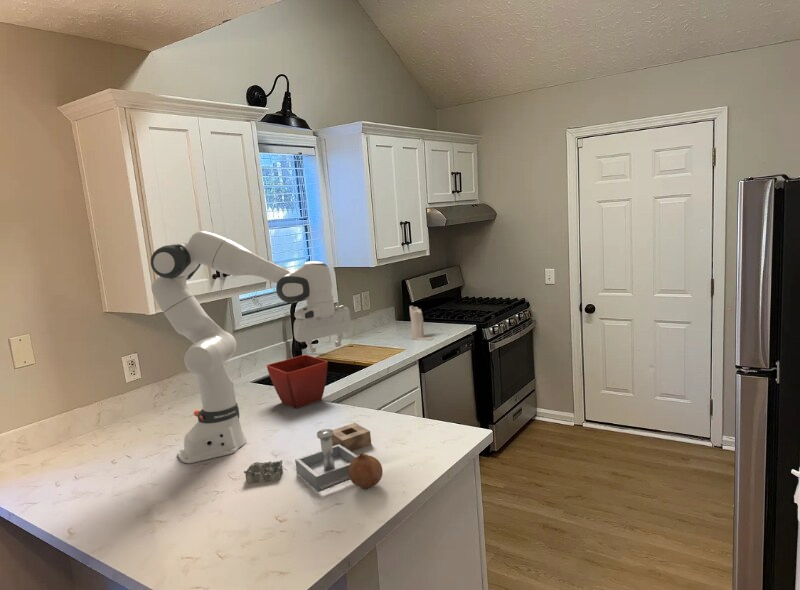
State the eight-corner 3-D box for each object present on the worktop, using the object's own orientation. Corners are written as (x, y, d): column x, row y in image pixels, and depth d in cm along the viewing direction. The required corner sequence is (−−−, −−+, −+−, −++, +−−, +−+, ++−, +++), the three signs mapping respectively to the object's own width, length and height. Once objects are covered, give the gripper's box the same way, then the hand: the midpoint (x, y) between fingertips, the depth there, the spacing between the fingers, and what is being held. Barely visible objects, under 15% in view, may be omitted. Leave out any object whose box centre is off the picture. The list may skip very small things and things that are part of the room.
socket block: (344, 458, 170) (342, 440, 169) (330, 448, 178) (328, 431, 177) (371, 448, 175) (370, 431, 174) (356, 439, 184) (355, 422, 183)
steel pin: (325, 476, 157) (321, 437, 155) (318, 470, 161) (314, 432, 159) (340, 470, 160) (336, 432, 158) (333, 465, 164) (328, 427, 162)
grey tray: (318, 492, 150) (316, 477, 150) (296, 473, 163) (295, 459, 162) (364, 474, 158) (363, 459, 158) (341, 457, 171) (339, 444, 170)
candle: (430, 340, 314) (427, 306, 311) (409, 339, 321) (407, 306, 318) (436, 337, 320) (433, 304, 317) (415, 336, 327) (412, 304, 324)
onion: (344, 486, 152) (341, 453, 151) (374, 476, 157) (371, 443, 155) (359, 500, 144) (355, 465, 142) (390, 489, 148) (386, 454, 147)
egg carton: (243, 484, 159) (241, 471, 159) (251, 472, 167) (249, 460, 166) (279, 482, 159) (277, 469, 158) (285, 470, 166) (283, 457, 165)
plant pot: (291, 413, 214) (286, 372, 212) (270, 403, 229) (265, 364, 227) (332, 400, 226) (328, 361, 223) (310, 391, 241) (305, 354, 238)
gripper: (344, 303, 190) (348, 341, 192) (289, 313, 178) (294, 354, 181) (352, 305, 184) (357, 344, 186) (297, 315, 173) (302, 357, 175)
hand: (325, 349), depth 183 cm, fingers open, 8 cm apart
